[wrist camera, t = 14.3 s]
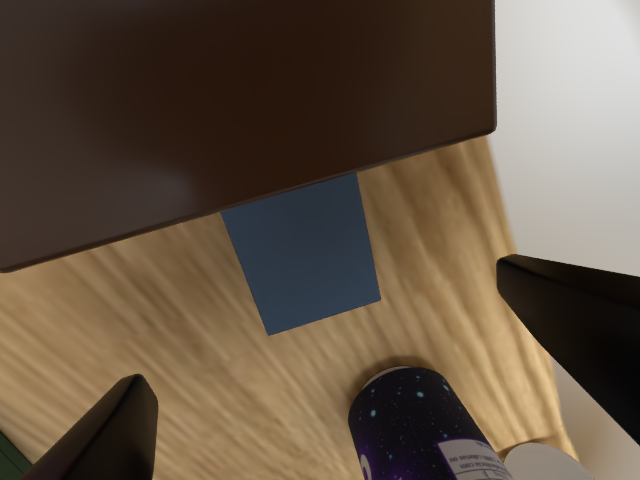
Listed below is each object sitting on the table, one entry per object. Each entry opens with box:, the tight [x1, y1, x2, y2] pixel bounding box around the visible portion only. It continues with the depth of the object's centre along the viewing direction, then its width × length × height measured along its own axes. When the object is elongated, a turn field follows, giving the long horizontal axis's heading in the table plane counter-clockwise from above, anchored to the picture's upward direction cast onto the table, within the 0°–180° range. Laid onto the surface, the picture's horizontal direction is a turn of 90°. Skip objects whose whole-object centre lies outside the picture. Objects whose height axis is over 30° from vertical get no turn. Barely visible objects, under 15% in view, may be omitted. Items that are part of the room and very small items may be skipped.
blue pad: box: [221, 173, 381, 336], centre depth 13 cm, size 6×4×2 cm
